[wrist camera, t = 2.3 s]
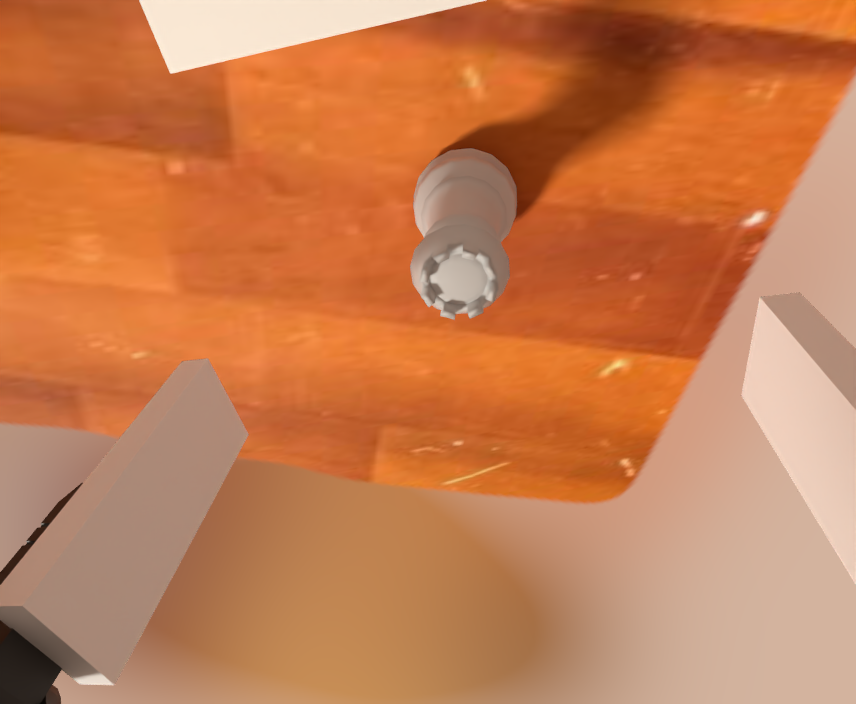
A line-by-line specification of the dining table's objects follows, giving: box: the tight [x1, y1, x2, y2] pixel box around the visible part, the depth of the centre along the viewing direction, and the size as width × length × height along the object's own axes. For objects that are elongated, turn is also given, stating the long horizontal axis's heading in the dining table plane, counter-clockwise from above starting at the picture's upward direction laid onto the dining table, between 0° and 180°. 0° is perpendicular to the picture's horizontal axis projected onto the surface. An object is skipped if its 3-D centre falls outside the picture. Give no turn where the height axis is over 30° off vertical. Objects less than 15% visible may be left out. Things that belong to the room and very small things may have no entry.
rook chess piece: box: [410, 148, 517, 320], centre depth 20 cm, size 4×4×8 cm
